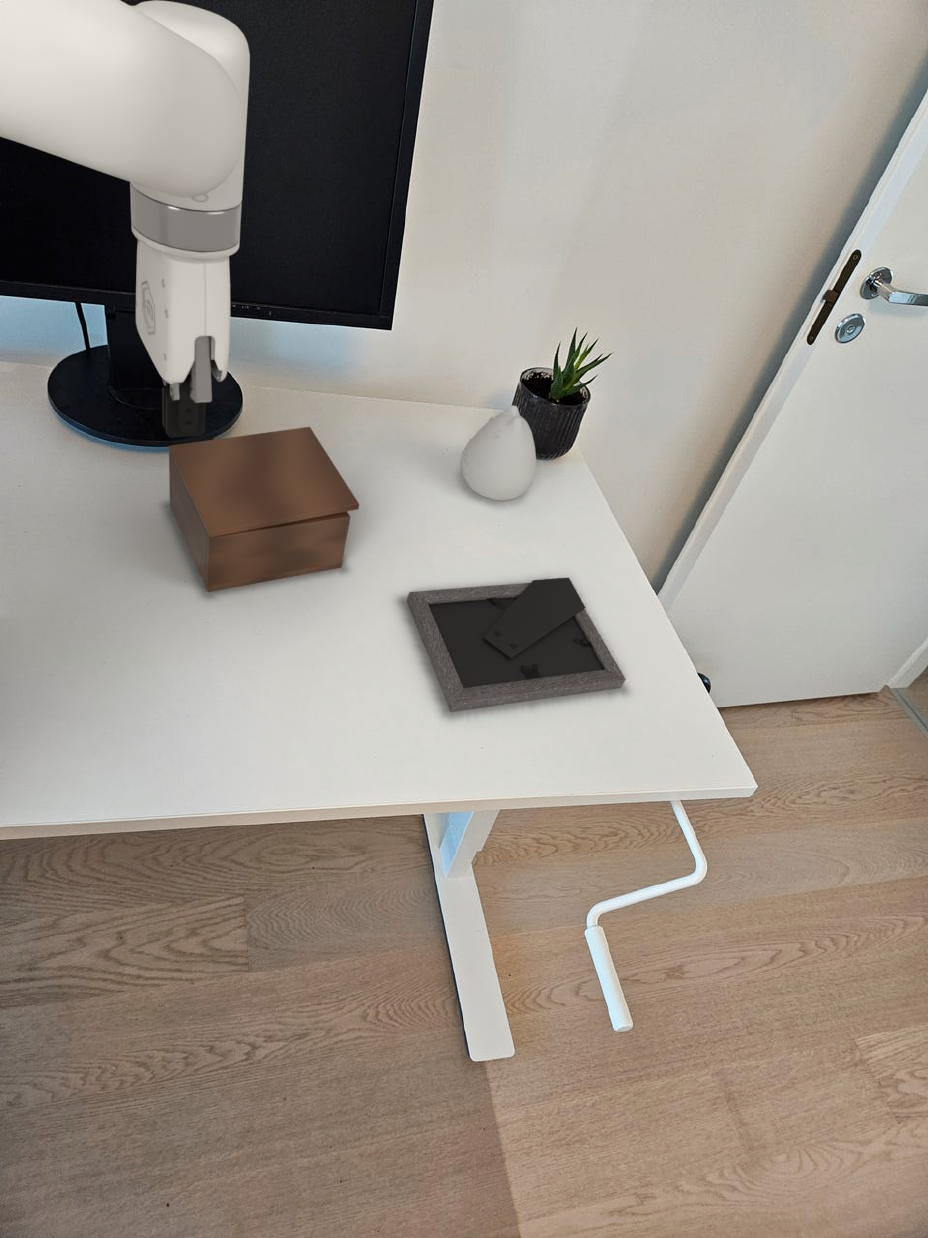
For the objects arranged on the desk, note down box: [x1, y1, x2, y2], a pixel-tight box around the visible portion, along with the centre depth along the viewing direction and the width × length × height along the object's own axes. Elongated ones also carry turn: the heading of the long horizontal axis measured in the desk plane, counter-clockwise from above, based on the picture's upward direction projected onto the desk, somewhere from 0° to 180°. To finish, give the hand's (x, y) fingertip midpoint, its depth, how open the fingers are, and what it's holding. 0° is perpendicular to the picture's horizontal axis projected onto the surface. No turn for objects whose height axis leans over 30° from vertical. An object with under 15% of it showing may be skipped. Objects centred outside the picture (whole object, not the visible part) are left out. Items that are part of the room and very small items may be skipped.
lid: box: [168, 426, 360, 537], centre depth 89 cm, size 16×15×1 cm
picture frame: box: [406, 576, 627, 713], centre depth 92 cm, size 16×2×21 cm
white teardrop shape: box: [460, 405, 537, 502], centre depth 109 cm, size 10×10×12 cm
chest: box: [168, 451, 351, 593], centre depth 92 cm, size 16×15×8 cm
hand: (183, 430), depth 71 cm, fingers closed
